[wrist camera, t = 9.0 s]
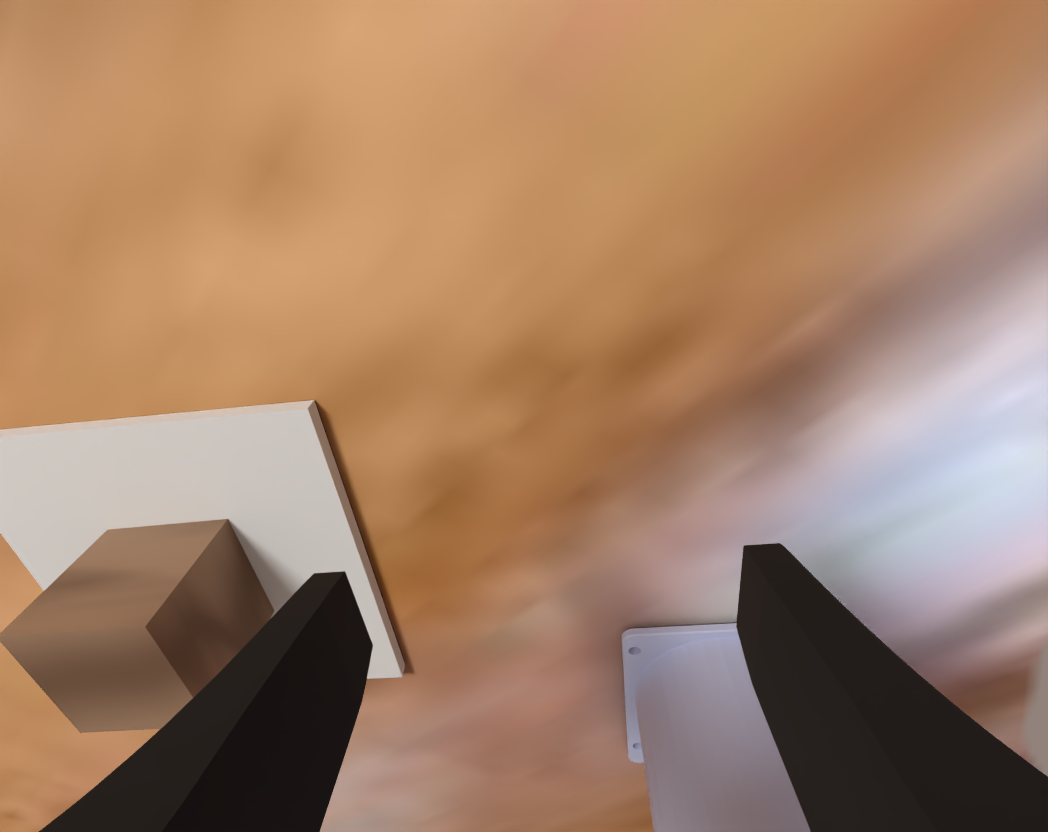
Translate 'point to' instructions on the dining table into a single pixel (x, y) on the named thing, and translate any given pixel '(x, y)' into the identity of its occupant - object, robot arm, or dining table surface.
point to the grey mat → (195, 497)
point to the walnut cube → (140, 624)
